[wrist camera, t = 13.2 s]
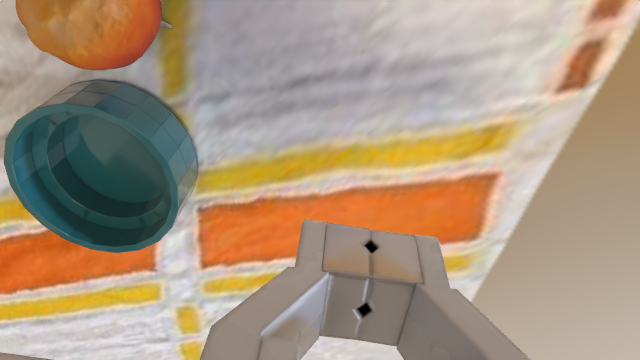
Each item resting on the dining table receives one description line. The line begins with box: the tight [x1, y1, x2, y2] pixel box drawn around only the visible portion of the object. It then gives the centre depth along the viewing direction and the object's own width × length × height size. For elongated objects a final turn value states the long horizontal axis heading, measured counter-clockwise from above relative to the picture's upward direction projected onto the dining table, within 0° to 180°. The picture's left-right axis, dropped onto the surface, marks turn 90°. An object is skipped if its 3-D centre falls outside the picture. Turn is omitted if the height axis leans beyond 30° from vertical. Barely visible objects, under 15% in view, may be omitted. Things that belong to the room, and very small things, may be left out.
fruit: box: [16, 0, 172, 70], centre depth 28 cm, size 8×8×8 cm
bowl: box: [4, 80, 197, 253], centre depth 35 cm, size 12×12×5 cm
